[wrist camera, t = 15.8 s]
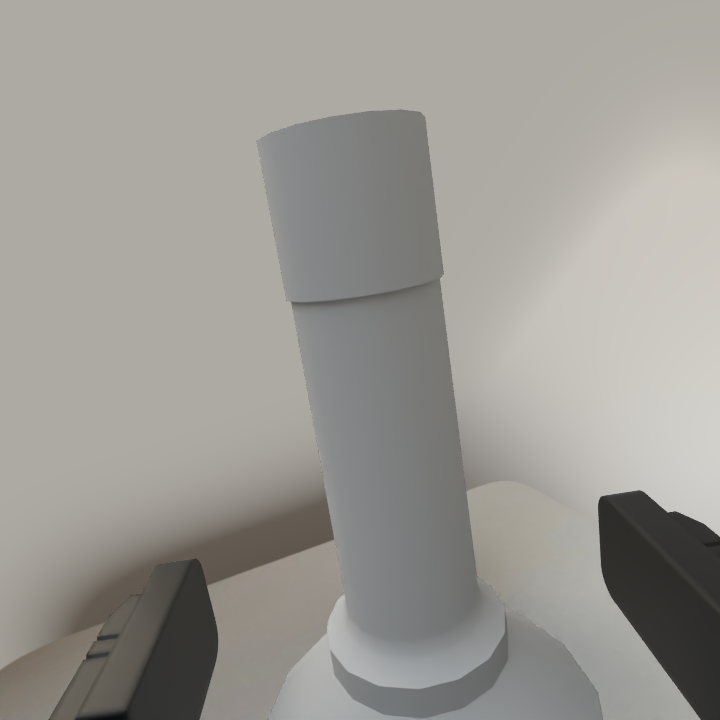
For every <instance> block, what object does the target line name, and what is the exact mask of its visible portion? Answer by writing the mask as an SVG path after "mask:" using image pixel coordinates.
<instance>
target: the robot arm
mask: <svg viewBox="0 0 720 720" xmlns="http://www.w3.org/2000/svg"><path fill="white" fill-rule="evenodd" d="M598 513H599V514H598V515H599V534H600V553H601V568H602V573H603V577H604V581H605V584H606V586H607V589H608V591H609V593H610V595H611V597H612V599H613V600H614V602H615V603H616V604H617V606H618V607H619V608H620V610H621V611H622V612H623V614H624V615H625V617H626V618H627V619H628V621H629V622H630V623H631V625H632V626H633V627H634V629H635V630H636V632H637V633H638V634H639V636H640V637H641V638H642V640H643V641H644V642H645V644H646V645H647V647H648V648H649V649H650V651H651V652H652V653H653V655H654V656H655V658H656V659H657V660H658V662H659V663H660V664H661V666H662V667H663V668H664V670H665V671H666V673H667V674H668V675H669V677H670V678H671V679H672V681H673V682H674V683H675V685H676V686H677V688H678V689H679V690H680V692H681V693H682V694H683V696H684V697H685V698H686V700H687V701H688V703H689V704H690V705H691V707H692V708H693V709H694V711H695V712H696V713H697V715H698V716H699V718H700V719H701V720H720V537H719V536H718V535H717V534H715V533H714V532H713V531H712V530H710V529H709V528H708V527H707V526H706V525H704V524H703V523H701V522H698V521H696V520H694V519H691V518H689V517H687V516H685V515H683V514H681V513H678V512H669V513H667V512H666V511H665V510H664V509H663V508H662V507H660V506H659V505H658V504H657V503H656V502H655V501H654V500H652V499H651V498H650V497H649V496H648V495H647V494H645V493H644V492H643V491H632V492H626V493H619V494H613V495H606V496H602V497H601V498H600V500H599V503H598ZM217 652H218V633H217V625H216V621H215V617H214V613H213V609H212V605H211V601H210V597H209V593H208V589H207V585H206V581H205V577H204V573H203V570H202V566H201V564H200V562H199V561H198V560H197V559H190V560H184V561H178V562H171V563H165V564H159V565H157V566H156V567H155V569H154V571H153V573H152V575H151V576H150V578H149V580H148V582H147V584H146V586H145V588H144V589H143V591H142V593H141V594H136V595H131V596H130V597H129V598H128V599H127V600H126V601H125V602H123V603H122V604H121V605H120V606H119V607H118V608H117V609H116V610H115V611H114V612H113V613H112V614H111V615H110V616H109V617H108V619H107V621H106V623H105V624H104V626H103V628H102V629H101V631H100V633H99V634H98V636H97V641H94V643H93V645H92V646H91V648H90V650H89V651H88V653H87V655H86V660H83V662H82V663H81V665H80V667H79V668H78V670H77V672H76V674H75V675H74V677H73V679H72V680H71V682H70V684H69V685H68V687H67V689H66V691H65V692H64V694H63V696H62V697H61V699H60V701H59V702H58V704H57V706H56V708H55V709H54V711H53V713H52V714H51V716H50V718H49V719H48V720H199V719H200V716H201V712H202V709H203V705H204V702H205V698H206V694H207V691H208V687H209V684H210V680H211V677H212V673H213V670H214V666H215V663H216V658H217Z"/></svg>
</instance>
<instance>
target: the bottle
mask: <svg viewBox="0 0 720 720" xmlns="http://www.w3.org/2000/svg"><path fill="white" fill-rule="evenodd" d="M257 146H258V151H259V157H260V162H261V167H262V173H263V178H264V183H265V189H266V194H267V199H268V205H269V210H270V215H271V221H272V226H273V231H274V237H275V242H276V247H277V253H278V258H279V263H280V269H281V274H282V279H283V284H284V290H285V295H286V301H291V303H292V309H293V314H294V319H295V325H296V331H297V336H298V342H299V347H300V352H301V358H302V364H303V369H304V375H305V380H306V386H307V391H308V397H309V402H310V408H311V413H312V419H313V424H314V429H315V435H316V441H317V446H318V451H319V457H320V463H321V468H322V473H323V479H324V485H325V490H326V496H327V501H328V507H329V512H330V518H331V523H332V528H333V534H334V540H335V545H336V551H337V556H338V562H339V567H340V573H341V578H342V584H343V589H344V594H343V595H342V596H341V597H340V598H339V599H338V600H337V601H336V604H335V606H334V608H333V611H332V613H331V616H330V618H329V620H328V623H327V630H328V632H327V633H326V634H325V635H324V636H323V637H322V638H321V639H320V640H319V641H318V642H317V643H316V644H315V645H314V646H313V647H312V648H311V649H310V650H309V651H308V652H307V653H306V654H305V655H304V656H303V657H302V658H301V659H300V660H299V662H298V663H297V664H296V665H295V666H294V667H293V668H292V669H291V670H290V671H289V674H288V676H287V678H286V680H285V682H284V685H283V687H282V689H281V691H280V693H279V695H278V698H277V700H276V702H275V704H274V706H273V709H272V711H271V713H270V715H269V717H268V720H603V716H602V711H601V706H600V700H599V695H598V692H597V690H596V689H595V688H594V686H593V685H592V683H591V682H590V680H589V679H588V678H587V676H586V675H585V673H584V672H583V671H582V669H581V668H580V666H579V665H578V663H577V662H576V661H575V659H574V658H573V656H572V655H571V653H570V652H569V651H568V649H567V648H566V646H565V645H564V644H562V643H561V642H559V641H558V640H556V639H555V638H553V637H552V636H551V635H549V634H548V633H546V632H545V631H543V630H542V629H540V628H539V627H538V626H536V625H535V624H533V623H532V622H530V621H529V620H527V619H526V618H524V617H523V616H522V615H520V614H518V613H516V612H513V611H511V610H509V609H506V608H505V607H504V605H503V604H502V602H501V600H500V599H499V597H498V595H497V594H496V592H495V591H494V589H493V587H492V586H491V585H490V584H488V583H487V582H485V581H484V580H482V579H481V578H479V577H478V576H477V575H476V567H475V559H474V551H473V543H472V535H471V526H470V518H469V510H468V502H467V494H466V486H465V478H464V471H463V462H462V454H461V446H460V438H459V430H458V422H457V414H456V406H455V398H454V390H453V382H452V374H451V365H450V358H449V349H448V341H447V333H446V325H445V318H444V309H443V302H442V293H441V286H440V278H441V277H442V275H443V274H444V273H443V265H442V256H441V248H440V239H439V231H438V222H437V214H436V205H435V197H434V188H433V180H432V171H431V163H430V155H429V146H428V139H427V130H426V121H425V116H424V115H423V114H422V113H421V112H415V111H408V110H387V111H386V110H385V111H368V112H361V113H353V114H346V115H339V116H332V117H327V118H323V119H318V120H313V121H309V122H304V123H300V124H295V125H292V126H289V127H287V128H283V129H280V130H278V131H274V132H271V133H269V134H267V135H265V136H264V137H262V138H261V139H259V140H257Z"/></svg>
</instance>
